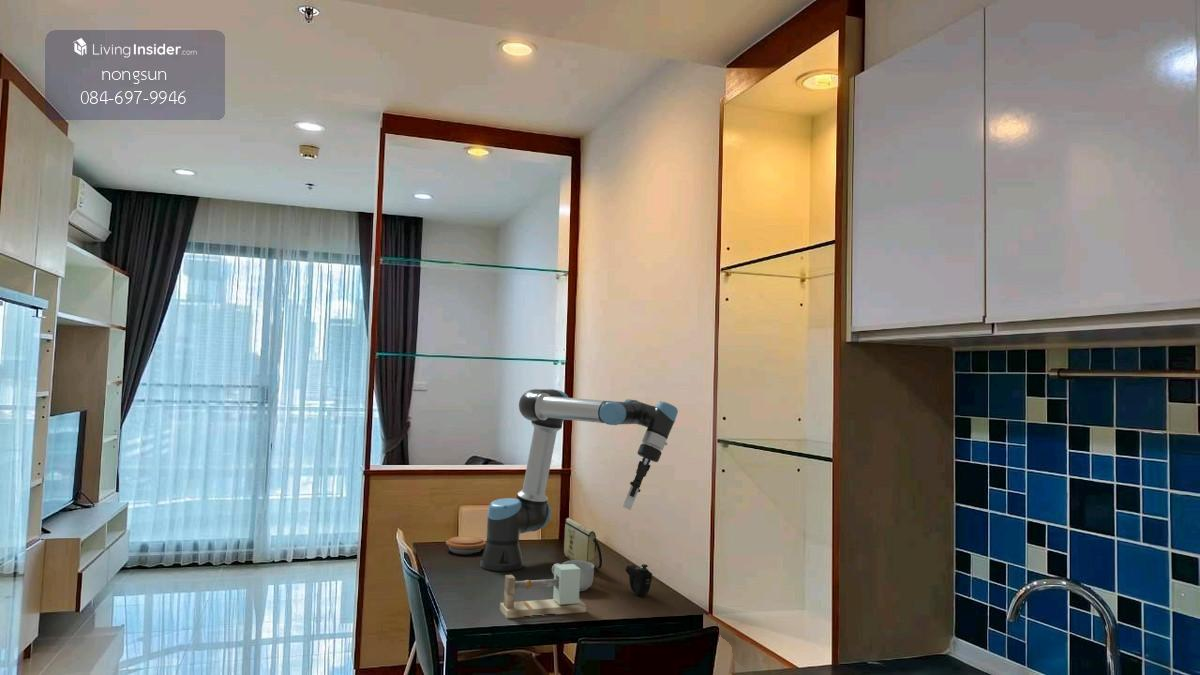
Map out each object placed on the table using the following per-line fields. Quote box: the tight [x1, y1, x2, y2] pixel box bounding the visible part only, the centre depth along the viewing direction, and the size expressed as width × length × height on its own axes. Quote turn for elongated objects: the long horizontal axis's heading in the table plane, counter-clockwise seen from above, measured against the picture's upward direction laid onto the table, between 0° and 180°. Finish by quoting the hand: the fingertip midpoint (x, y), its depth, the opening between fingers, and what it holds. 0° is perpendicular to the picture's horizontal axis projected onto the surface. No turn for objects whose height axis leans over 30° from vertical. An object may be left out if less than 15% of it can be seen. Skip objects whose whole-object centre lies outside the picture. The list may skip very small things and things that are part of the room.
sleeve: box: [552, 563, 580, 605], centre depth 223 cm, size 6×6×10 cm
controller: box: [625, 563, 653, 596], centre depth 242 cm, size 4×12×10 cm, turn 27°
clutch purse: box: [562, 517, 603, 569], centre depth 278 cm, size 30×7×15 cm, turn 22°
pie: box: [445, 535, 487, 555], centre depth 291 cm, size 16×16×5 cm
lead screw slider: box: [499, 574, 587, 619], centre depth 220 cm, size 24×8×10 cm, turn 112°
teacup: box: [551, 560, 595, 592], centre depth 245 cm, size 14×11×8 cm
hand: (627, 507), depth 244 cm, fingers open, 13 cm apart
